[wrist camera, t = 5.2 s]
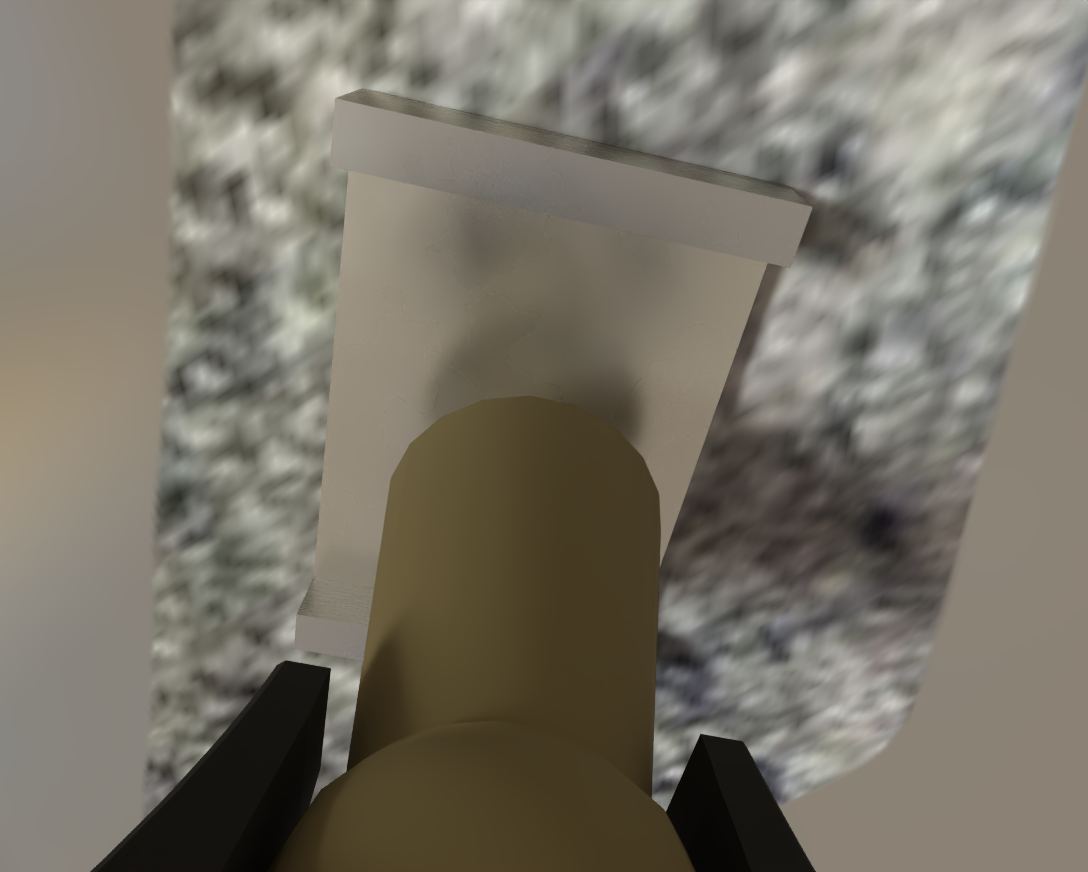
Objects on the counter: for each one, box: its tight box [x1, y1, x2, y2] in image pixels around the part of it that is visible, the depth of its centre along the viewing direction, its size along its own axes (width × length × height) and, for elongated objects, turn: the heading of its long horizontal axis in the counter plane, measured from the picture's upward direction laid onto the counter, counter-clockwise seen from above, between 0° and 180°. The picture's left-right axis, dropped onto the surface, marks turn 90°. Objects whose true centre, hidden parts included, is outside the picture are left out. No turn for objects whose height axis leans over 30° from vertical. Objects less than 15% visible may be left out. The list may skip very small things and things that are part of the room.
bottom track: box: [294, 89, 813, 661], centre depth 18 cm, size 14×9×2 cm, turn 168°
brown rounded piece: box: [266, 396, 696, 872], centre depth 12 cm, size 6×6×11 cm
